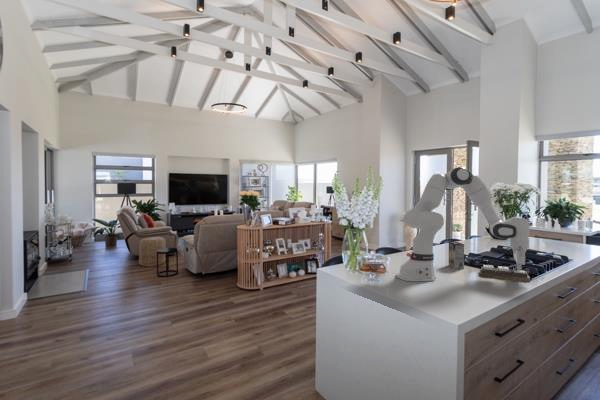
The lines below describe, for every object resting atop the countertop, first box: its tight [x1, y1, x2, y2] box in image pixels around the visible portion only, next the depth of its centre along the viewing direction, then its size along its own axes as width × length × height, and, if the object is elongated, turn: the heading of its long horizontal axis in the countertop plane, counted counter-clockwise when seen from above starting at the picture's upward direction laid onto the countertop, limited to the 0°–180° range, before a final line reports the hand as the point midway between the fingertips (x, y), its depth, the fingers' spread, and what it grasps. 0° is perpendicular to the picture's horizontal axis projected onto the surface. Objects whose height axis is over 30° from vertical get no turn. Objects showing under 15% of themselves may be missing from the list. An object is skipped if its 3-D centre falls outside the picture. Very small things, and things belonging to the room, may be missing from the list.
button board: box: [479, 266, 531, 283], centre depth 178 cm, size 10×24×4 cm, turn 59°
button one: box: [497, 265, 509, 272], centre depth 178 cm, size 5×5×2 cm
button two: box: [512, 269, 525, 273], centre depth 174 cm, size 5×5×2 cm
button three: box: [482, 264, 495, 270], centre depth 182 cm, size 5×5×2 cm
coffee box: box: [448, 241, 465, 269], centre depth 202 cm, size 9×6×16 cm
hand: (518, 269), depth 174 cm, fingers closed
